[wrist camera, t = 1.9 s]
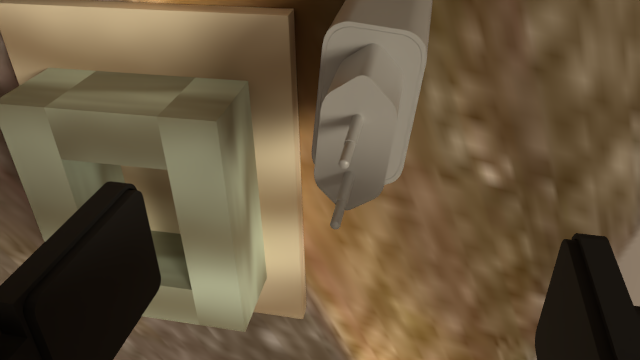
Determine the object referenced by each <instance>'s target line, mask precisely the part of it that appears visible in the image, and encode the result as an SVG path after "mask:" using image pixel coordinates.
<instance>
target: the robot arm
mask: <svg viewBox="0 0 640 360" xmlns="http://www.w3.org/2000/svg"><path fill="white" fill-rule="evenodd" d="M160 284H161V274H160V270H159V265H158V261H157V256H156V252H155V247H154V243H153V238H152V234H151V229H150V225H149V220H148V216H147V211H146V207H145V202H144V198H143V195H142V193H141V191H138V190H137V189H136V187H135V186H134V185H133V184H130V183H121V182H112V181H109V182H106V183H105V184H104V185H103V186H102V187H101V188H100V189H99V190H98V191H97V192H96V193H95V194H94V195H93V196H92V197H90V198H89V199H88V200H87V201H86V202H85V203H84V204H83V205H82V206H81V207H80V208H79V209H78V210H77V211H76V212H75V213H74V214H73V215H72V216H71V217H70V218H69V219H68V220H67V221H66V222H65V223H64V224H63V225H62V226H61V227H60V228H59V229H58V230H57V231H56V232H55V233H54V234H53V235H52V236H51V237H50V238H49V239H48V240H47V241H46V242H44V243H43V244H42V245H41V246H40V247H39V248H38V249H37V250H36V251H35V252H34V253H33V254H32V255H31V256H30V257H29V258H28V259H27V260H26V261H25V262H24V263H23V264H22V265H21V266H20V267H19V268H18V269H17V270H16V271H15V272H14V273H13V274H12V275H11V276H10V277H9V278H8V279H7V280H6V281H5V282H4V283H3V284H2V285H1V286H0V360H113V359H114V357H115V356H116V354H117V353H118V351H119V350H120V348H121V347H122V345H123V344H124V342H125V341H126V339H127V338H128V336H129V334H130V333H131V331H132V330H133V328H134V327H135V325H136V324H137V322H138V321H139V319H140V318H141V316H142V315H143V313H144V312H145V310H146V309H147V307H148V306H149V304H150V303H151V301H152V300H153V298H154V297H155V295H156V294H157V292H158V290H159V288H160ZM535 349H536V355H537V360H640V307H639V306H633V303H632V301H631V298H630V295H629V293H628V290H627V288H626V285H625V282H624V280H623V277H622V274H621V272H620V269H619V267H618V264H617V261H616V259H615V256H614V254H613V251H612V248H611V246H610V243H609V241H608V239H607V238H606V237H605V236H596V235H587V234H578V233H576V234H574V236H573V237H572V240H568V239H564V240H563V241H562V243H561V246H560V250H559V253H558V257H557V260H556V264H555V267H554V271H553V274H552V278H551V281H550V285H549V288H548V292H547V295H546V299H545V302H544V305H543V309H542V312H541V316H540V319H539V323H538V326H537V330H536V336H535Z"/></svg>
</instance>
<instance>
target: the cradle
mask: <svg viewBox="0 0 640 360" xmlns="http://www.w3.org/2000/svg"><path fill="white" fill-rule="evenodd" d="M0 31H1V34H2V37H3V40H4V43H5V46H6V49H7V52H8V54H9V57H10V60H11V63H12V66H13V69H14V72H15V75H16V78H17V80H18V83H19V86H18V87H17V88H15V89H13V90H12V91H10V92H8V93H7V94H5V95H4V96H2V97H0V128H1V130H2V133H3V136H4V138H5V141H6V143H7V146H8V149H9V151H10V154H11V156H12V159H13V162H14V164H15V167H16V169H17V172H18V174H19V177H20V180H21V182H22V185H23V187H24V190H25V193H26V195H27V198H28V200H29V203H30V206H31V208H32V211H33V213H34V216H35V219H36V221H37V224H38V226H39V229H40V231H41V234H42V237H43V239H44V242H46V241H47V240H48V239H49V238H50V237H51V236H52V235H53V234H54V233H55V232H56V231H57V230H58V229H59V228H60V227H61V226H62V225H63V224H64V223H65V222H66V221H67V220H68V219H69V218H70V217H71V216H72V215H73V214H74V213H75V212H76V211H77V210H78V209H79V208H80V207H81V206H82V205H83V204H84V203H85V202H86V201H87V200H88V199H89V198H90V197H92V196H93V195H94V194H95V193H96V192H97V191H98V190H99V189H100V188H101V187H102V186H103V185H104V184H105V183H106V182H109V181H112V182H121V183H130V184H133V185H134V186H135V187H136V189H137V190H138V191H141V193H142V195H143V198H144V202H145V207H146V211H147V216H148V220H149V225H150V229H151V234H152V238H153V243H154V247H155V252H156V256H157V261H158V265H159V270H160V274H161V284H160V288H159V290H158V292H157V294H156V295H155V297H154V298H153V300H152V301H151V303H150V304H149V306H148V307H147V309H146V310H145V312H144V313H143V315H142V316H144V317H151V318H157V319H164V320H170V321H177V322H184V323H190V324H197V325H204V326H210V327H217V328H223V329H230V330H237V331H243V332H245V331H246V328H247V326H248V324H249V321H250V319H251V316H252V314H253V312H258V313H265V314H272V315H279V316H286V317H293V318H300V319H303V317H304V313H305V310H306V307H307V306H306V282H305V259H304V235H303V212H302V188H301V165H300V141H299V118H298V94H297V71H296V47H295V24H294V9H285V8H261V7H237V6H213V5H188V4H164V3H140V2H116V1H92V0H0Z"/></svg>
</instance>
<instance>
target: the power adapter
mask: <svg viewBox="0 0 640 360" xmlns="http://www.w3.org/2000/svg"><path fill="white" fill-rule="evenodd" d="M431 10H432V0H345V2H344V4H343V5H342V7H341V9H340V11H339V12H338V14H337V16H336V17H335V19H334V21H333V22H332V24H331V26H330V28H329V29H328V31H327V33H326V35H325V37H324V40H323V45H322V54H321V64H320V74H319V84H318V94H317V104H316V114H315V124H314V134H313V144H312V159H313V162H314V164H315V169H314V178H315V181H316V184H317V186H318V187H319V188H320V189H321V190H322V191H323V192H324V193H325V194H326V195H327V196H328V197H329V198H330V199H331V200H332V201H333V202H334V203H335V204H336V206H335V210H334V213H333V217H332V220H331V223H330V226H331V227H332V228H333V229H338V228H339V227H340V225H341V221H342V217H343V214H344V210H351V209H353V208H355V207H357V206H360V205H362V204H364V203H366V202H368V201H371V200H373V199H375V198H376V197H378V196H379V194H380V193H381V191H382V190H383V187H384V185H385V184H389V183H392V182H394V181H395V180H397V179H398V177H399V176H400V175H401V172H402V170H403V166H404V162H405V157H406V152H407V148H408V143H409V139H410V134H411V129H412V125H413V120H414V116H415V111H416V107H417V102H418V97H419V93H420V88H421V84H422V79H423V74H424V70H425V65H426V59H427V49H428V39H429V29H430V19H431Z"/></svg>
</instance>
